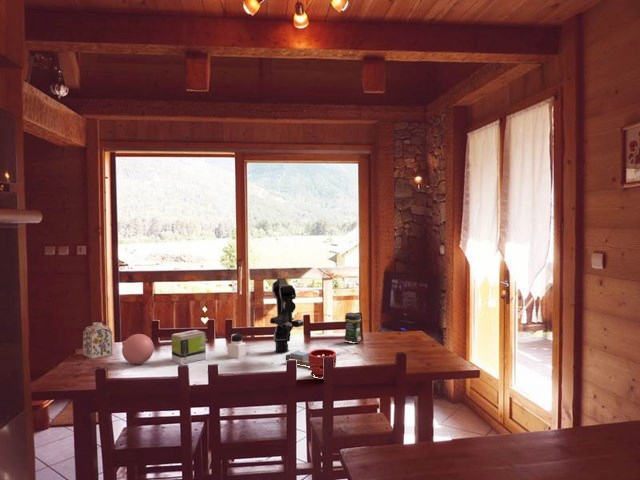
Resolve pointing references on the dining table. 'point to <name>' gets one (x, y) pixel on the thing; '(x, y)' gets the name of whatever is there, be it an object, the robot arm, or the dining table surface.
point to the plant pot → (319, 361)
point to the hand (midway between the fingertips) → (286, 337)
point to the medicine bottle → (236, 347)
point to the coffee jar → (352, 327)
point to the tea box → (188, 346)
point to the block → (300, 355)
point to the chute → (299, 360)
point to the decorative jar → (97, 341)
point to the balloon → (137, 349)
